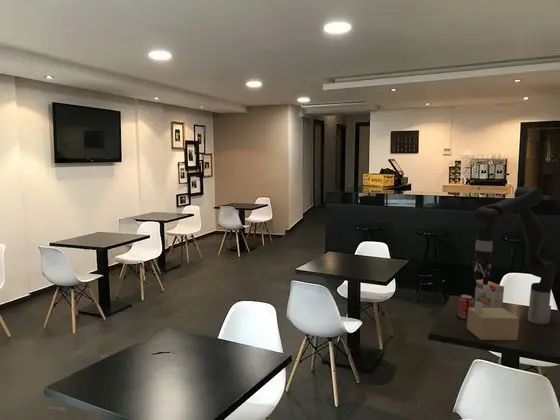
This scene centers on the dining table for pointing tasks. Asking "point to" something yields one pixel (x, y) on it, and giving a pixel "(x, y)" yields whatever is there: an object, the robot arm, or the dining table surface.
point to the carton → (492, 328)
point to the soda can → (464, 306)
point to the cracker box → (489, 294)
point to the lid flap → (492, 313)
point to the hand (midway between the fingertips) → (480, 282)
